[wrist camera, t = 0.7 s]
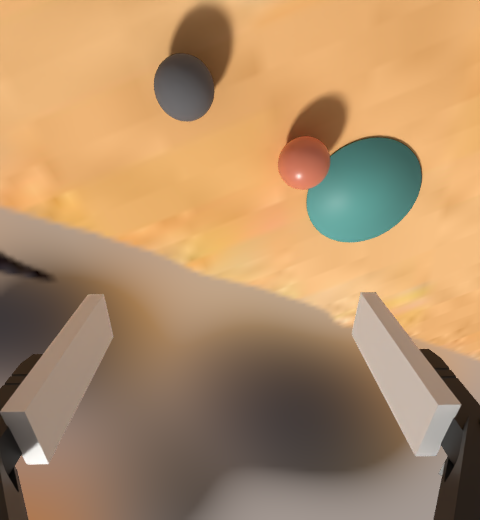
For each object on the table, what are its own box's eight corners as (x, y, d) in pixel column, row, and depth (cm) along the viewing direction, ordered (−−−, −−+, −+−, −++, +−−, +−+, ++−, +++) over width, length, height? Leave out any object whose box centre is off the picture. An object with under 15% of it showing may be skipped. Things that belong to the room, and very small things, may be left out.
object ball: (294, 120, 33) (304, 134, 29) (333, 146, 35) (348, 163, 30) (266, 163, 36) (271, 182, 31) (303, 185, 38) (313, 206, 33)
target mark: (361, 112, 33) (362, 112, 33) (445, 175, 37) (446, 176, 37) (284, 213, 40) (284, 214, 40) (363, 256, 44) (363, 256, 44)
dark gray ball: (173, 38, 28) (163, 40, 24) (225, 73, 30) (224, 81, 26) (151, 95, 31) (138, 106, 27) (200, 124, 33) (195, 139, 29)
